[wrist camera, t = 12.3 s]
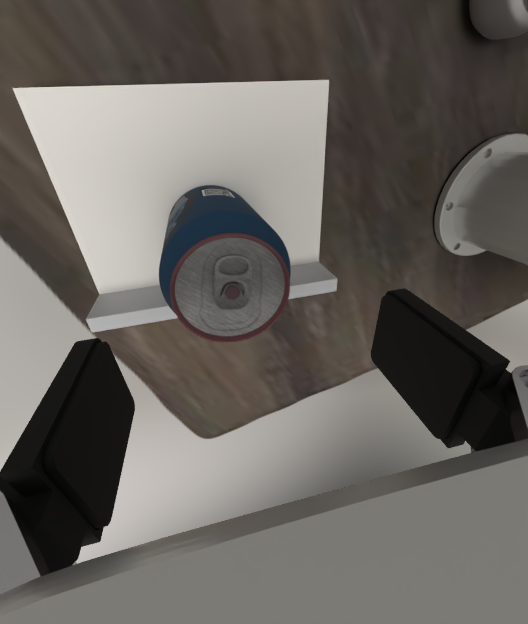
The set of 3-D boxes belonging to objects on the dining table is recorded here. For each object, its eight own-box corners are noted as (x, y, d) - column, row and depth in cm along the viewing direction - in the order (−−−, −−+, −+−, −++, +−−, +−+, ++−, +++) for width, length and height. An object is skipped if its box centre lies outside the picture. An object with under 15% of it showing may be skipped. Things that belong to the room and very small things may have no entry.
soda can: (250, 267, 26) (291, 347, 16) (171, 267, 24) (162, 357, 14) (256, 186, 22) (314, 223, 12) (164, 179, 20) (146, 215, 11)
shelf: (313, 86, 22) (358, 67, 16) (307, 262, 30) (336, 290, 24) (35, 95, 19) (-32, 74, 13) (112, 291, 27) (91, 332, 21)
